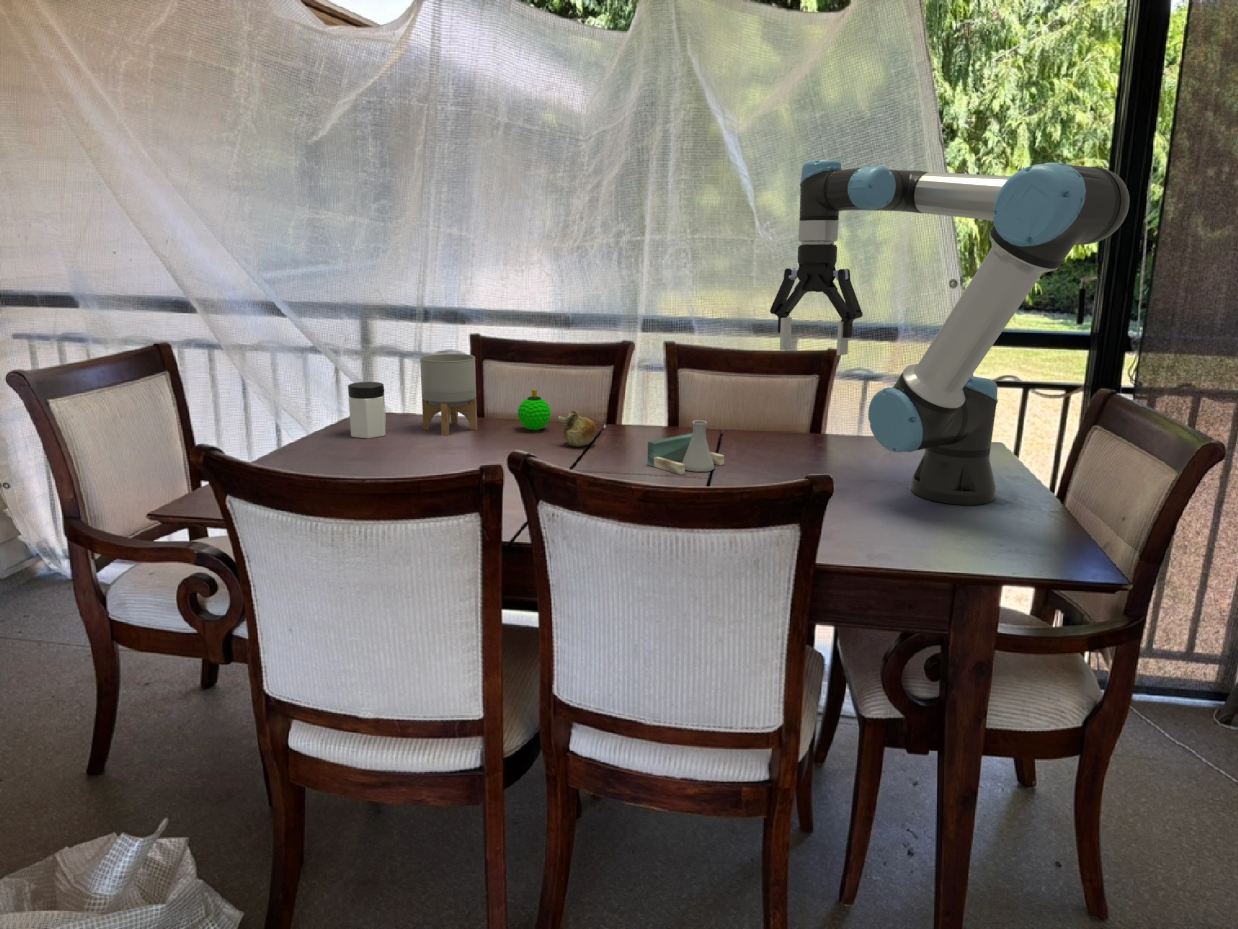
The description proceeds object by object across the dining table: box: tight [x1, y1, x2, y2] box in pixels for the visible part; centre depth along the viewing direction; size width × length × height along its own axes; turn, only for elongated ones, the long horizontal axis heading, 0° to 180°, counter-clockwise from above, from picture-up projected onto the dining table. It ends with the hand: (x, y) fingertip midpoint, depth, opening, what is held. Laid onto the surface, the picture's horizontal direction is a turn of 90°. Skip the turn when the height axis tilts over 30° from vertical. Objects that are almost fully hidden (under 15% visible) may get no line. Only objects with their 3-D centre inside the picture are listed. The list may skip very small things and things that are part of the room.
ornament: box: [517, 389, 552, 431], centre depth 219 cm, size 8×8×10 cm
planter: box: [419, 352, 478, 437], centre depth 217 cm, size 13×13×18 cm
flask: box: [681, 419, 716, 473], centre depth 187 cm, size 7×7×10 cm
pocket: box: [647, 432, 725, 475], centre depth 190 cm, size 10×13×5 cm
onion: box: [557, 410, 597, 448], centre depth 205 cm, size 8×8×8 cm
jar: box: [347, 381, 387, 439], centre depth 212 cm, size 9×8×12 cm
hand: (812, 352), depth 181 cm, fingers open, 13 cm apart
